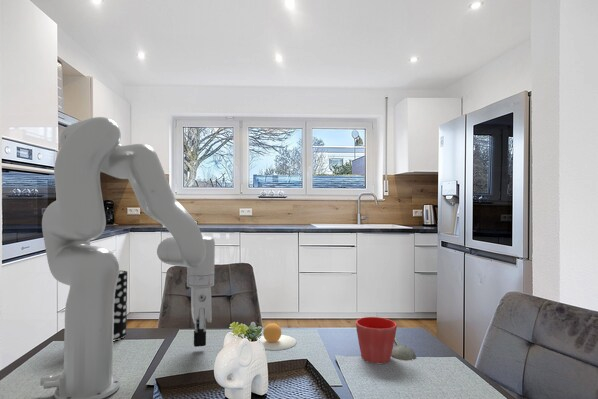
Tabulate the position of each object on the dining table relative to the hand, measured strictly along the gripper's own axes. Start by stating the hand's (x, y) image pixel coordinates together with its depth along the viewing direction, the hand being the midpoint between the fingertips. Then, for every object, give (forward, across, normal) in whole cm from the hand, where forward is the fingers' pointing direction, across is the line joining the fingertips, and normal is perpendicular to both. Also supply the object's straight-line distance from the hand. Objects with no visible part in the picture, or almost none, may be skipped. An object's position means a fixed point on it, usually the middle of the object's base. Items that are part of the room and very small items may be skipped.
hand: (199, 345), depth 108 cm
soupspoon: (+2, -14, -56) cm, 58 cm away
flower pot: (+2, -20, -45) cm, 49 cm away
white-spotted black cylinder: (+2, +19, +25) cm, 31 cm away
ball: (-1, +1, -21) cm, 21 cm away
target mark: (+2, 0, -22) cm, 22 cm away
